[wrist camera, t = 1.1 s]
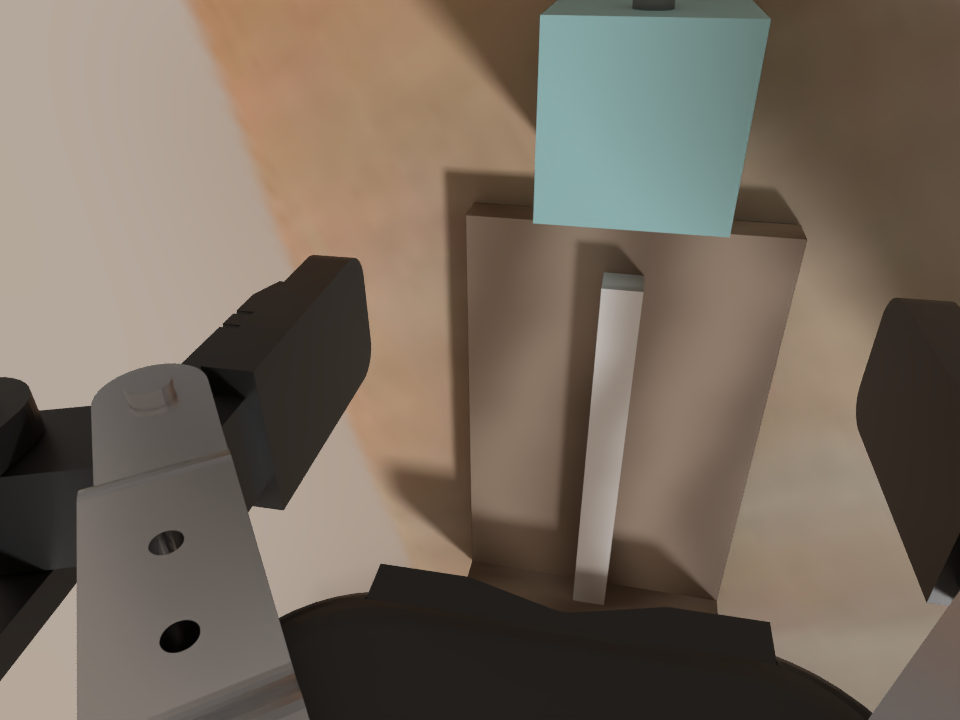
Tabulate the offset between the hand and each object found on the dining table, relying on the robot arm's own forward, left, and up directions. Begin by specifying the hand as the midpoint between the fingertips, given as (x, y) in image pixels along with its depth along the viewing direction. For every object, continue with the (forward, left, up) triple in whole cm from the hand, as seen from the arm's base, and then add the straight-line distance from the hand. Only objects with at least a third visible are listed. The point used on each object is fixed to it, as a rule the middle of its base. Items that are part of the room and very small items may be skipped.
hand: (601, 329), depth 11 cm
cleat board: (0, +16, -18) cm, 24 cm away
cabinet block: (0, 0, -18) cm, 18 cm away
